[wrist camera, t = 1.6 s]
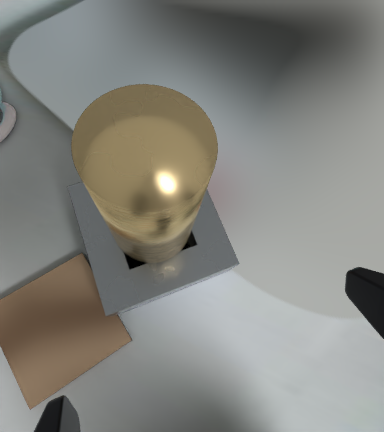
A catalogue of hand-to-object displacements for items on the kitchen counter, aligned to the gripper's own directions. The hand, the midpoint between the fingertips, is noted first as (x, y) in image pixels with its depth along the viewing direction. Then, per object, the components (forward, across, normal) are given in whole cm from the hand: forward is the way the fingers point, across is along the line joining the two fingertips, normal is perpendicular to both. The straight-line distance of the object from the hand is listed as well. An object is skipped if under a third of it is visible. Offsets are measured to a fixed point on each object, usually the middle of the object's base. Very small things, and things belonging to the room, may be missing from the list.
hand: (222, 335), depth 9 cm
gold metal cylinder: (+14, 0, +4) cm, 15 cm away
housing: (+14, 0, +4) cm, 15 cm away
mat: (+12, +8, +7) cm, 16 cm away
